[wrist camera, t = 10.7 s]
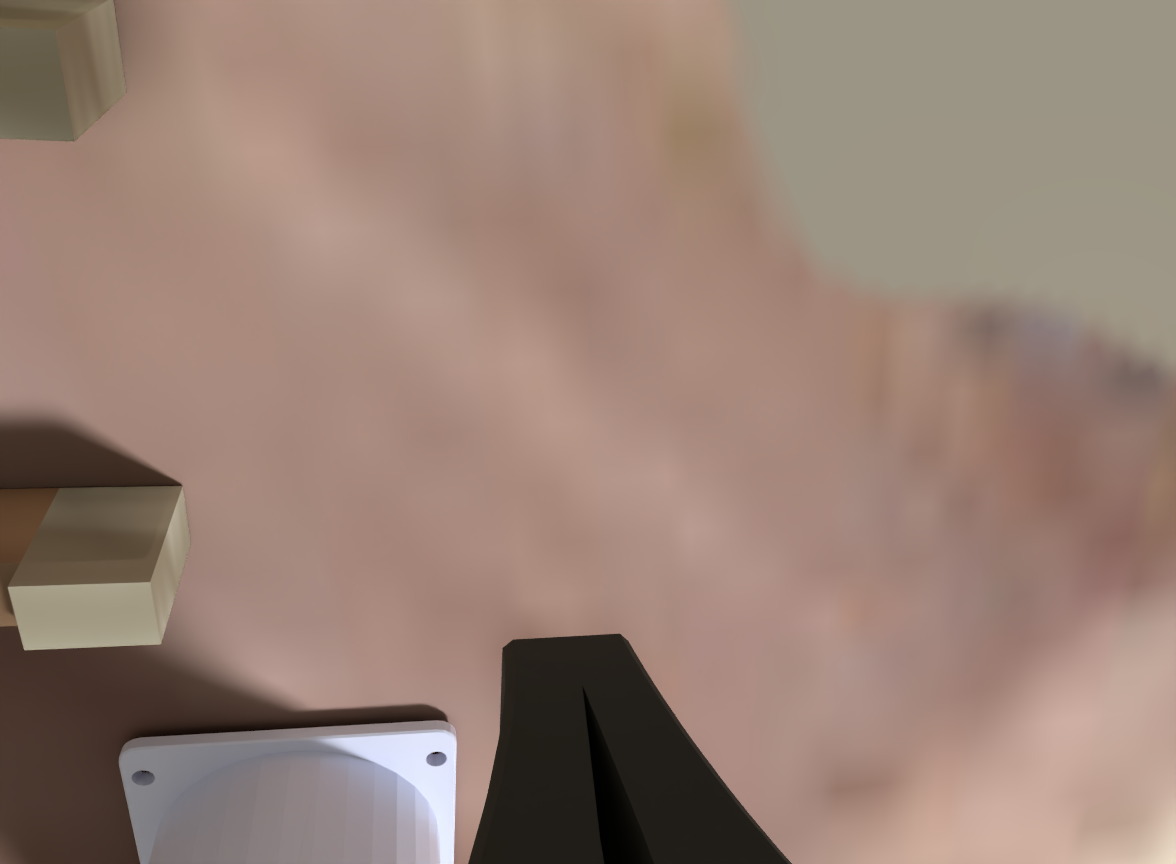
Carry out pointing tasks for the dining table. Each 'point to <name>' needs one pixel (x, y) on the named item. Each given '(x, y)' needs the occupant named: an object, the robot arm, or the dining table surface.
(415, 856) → the robot arm
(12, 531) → the walnut rails
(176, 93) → the dining table surface
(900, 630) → the dining table surface
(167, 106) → the dining table surface
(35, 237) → the dining table surface
